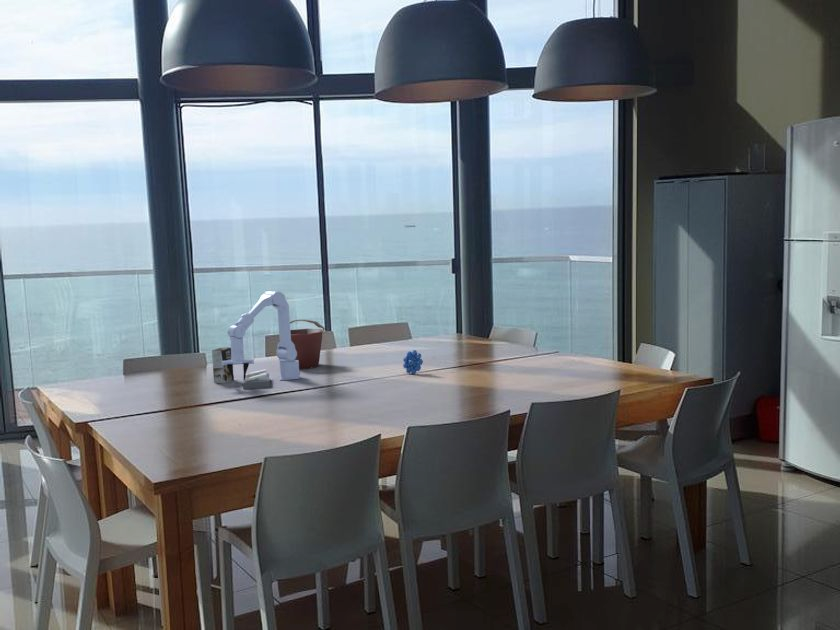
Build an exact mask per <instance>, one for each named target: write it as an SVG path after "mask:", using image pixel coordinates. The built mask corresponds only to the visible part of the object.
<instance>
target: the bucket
mask: <svg viewBox="0 0 840 630" xmlns="http://www.w3.org/2000/svg"><path fill="white" fill-rule="evenodd" d="M295 322H308V323H311V324H314V325H315V326H316V327H317V328H297V329H290V332H291V341H292V342H293V344H294V345H295V349H296V351H297V356H296V358H295V360H298V361H299V370H308V369H314V368H319V366H320V358H321V351H322V350H321V348H322V341H323V333H324V331H325V326H323V325H322V324H321V323H319V322H318V321H315V320H312V319H311V320H310V319H305V318H304V319H302V318H299V319H294V320H292V321H291V320H290V325H291V324H293V323H295ZM318 328H319V329H318Z"/></svg>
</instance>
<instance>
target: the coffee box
mask: <svg viewBox="0 0 840 630" xmlns="http://www.w3.org/2000/svg"><path fill="white" fill-rule="evenodd" d="M211 353H212V355H211V357H212V375H213V383H214V384H226V383H228V382H231V381H233V380H232V377H231V374H230V371H229V370H228V368H227V365H223V366H222V361H227V360H232V359H231V347H219V348H216V349H212V350H211ZM231 364H232V363H231Z"/></svg>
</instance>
